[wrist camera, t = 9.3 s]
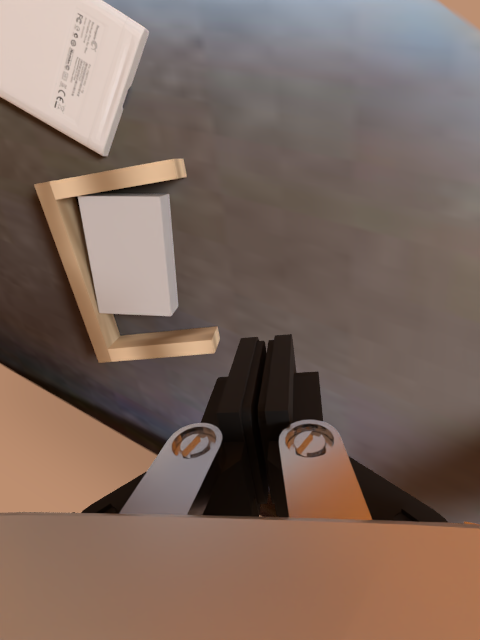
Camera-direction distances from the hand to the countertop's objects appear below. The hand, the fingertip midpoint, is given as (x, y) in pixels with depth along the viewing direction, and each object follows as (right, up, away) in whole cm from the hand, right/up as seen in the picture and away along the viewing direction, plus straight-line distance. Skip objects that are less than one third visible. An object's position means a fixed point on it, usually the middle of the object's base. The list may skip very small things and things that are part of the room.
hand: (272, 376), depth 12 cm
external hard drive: (-14, +20, +12) cm, 27 cm away
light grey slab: (-9, +7, +17) cm, 21 cm away
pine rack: (-8, +6, +17) cm, 20 cm away
